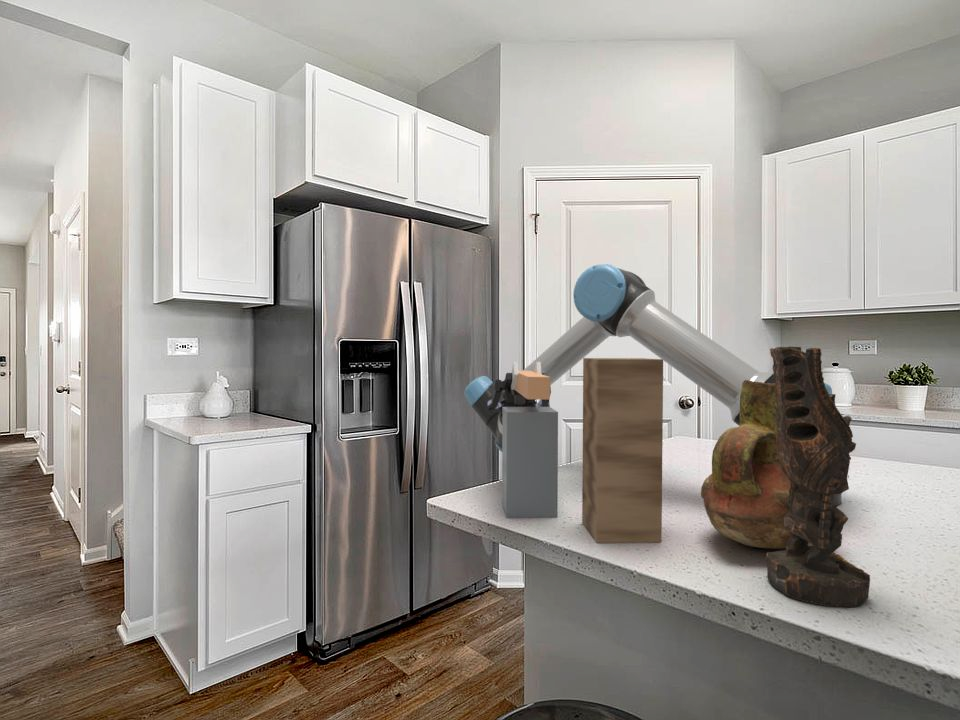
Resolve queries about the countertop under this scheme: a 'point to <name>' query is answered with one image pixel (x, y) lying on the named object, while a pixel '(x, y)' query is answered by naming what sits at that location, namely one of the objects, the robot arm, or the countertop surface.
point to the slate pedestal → (529, 462)
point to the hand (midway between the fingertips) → (527, 368)
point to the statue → (812, 485)
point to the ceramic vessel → (749, 475)
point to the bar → (533, 385)
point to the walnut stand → (622, 449)
